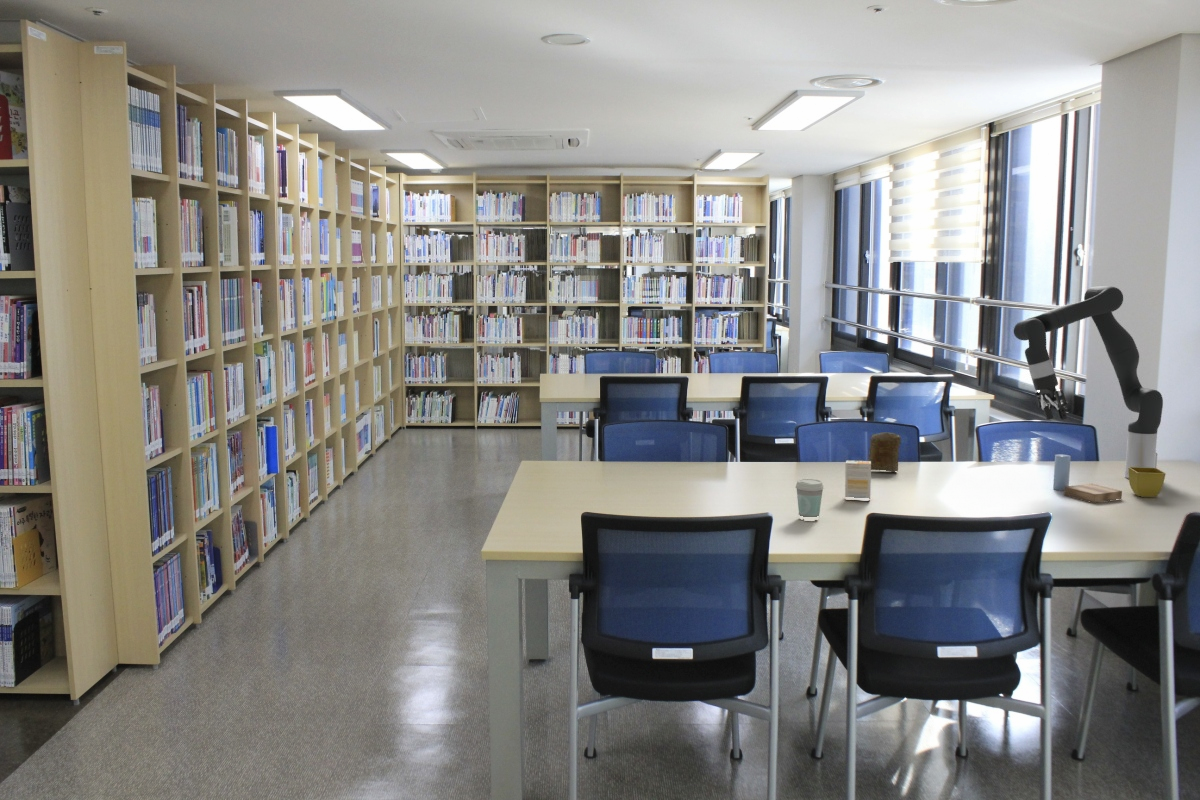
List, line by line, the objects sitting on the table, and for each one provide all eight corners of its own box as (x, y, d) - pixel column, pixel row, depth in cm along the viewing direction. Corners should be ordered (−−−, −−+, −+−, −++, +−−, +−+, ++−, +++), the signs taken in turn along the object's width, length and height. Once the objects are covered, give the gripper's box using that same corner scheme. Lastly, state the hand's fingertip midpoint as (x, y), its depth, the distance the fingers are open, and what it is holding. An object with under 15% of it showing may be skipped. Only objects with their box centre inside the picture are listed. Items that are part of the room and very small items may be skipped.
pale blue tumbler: (1060, 487, 321) (1062, 453, 319) (1071, 490, 316) (1073, 456, 314) (1050, 488, 319) (1051, 455, 317) (1061, 491, 314) (1063, 457, 313)
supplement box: (870, 498, 307) (871, 460, 305) (869, 502, 302) (871, 463, 301) (845, 497, 310) (846, 459, 308) (844, 500, 305) (845, 462, 303)
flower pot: (1164, 499, 302) (1166, 473, 301) (1135, 498, 304) (1137, 472, 302) (1153, 493, 310) (1155, 467, 309) (1126, 492, 312) (1127, 466, 311)
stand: (1090, 492, 313) (1091, 483, 313) (1121, 499, 302) (1121, 491, 301) (1064, 495, 309) (1064, 486, 308) (1094, 503, 298) (1095, 494, 297)
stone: (865, 472, 348) (866, 433, 346) (872, 467, 356) (873, 430, 354) (895, 475, 342) (896, 436, 340) (901, 470, 350) (902, 432, 348)
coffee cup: (791, 516, 286) (792, 478, 284) (817, 515, 287) (818, 478, 285) (799, 523, 277) (800, 485, 276) (826, 522, 278) (827, 484, 277)
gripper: (1064, 370, 308) (1078, 416, 308) (1042, 372, 322) (1055, 416, 322) (1043, 377, 308) (1058, 422, 308) (1022, 378, 322) (1035, 422, 322)
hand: (1056, 419), depth 315 cm, fingers open, 8 cm apart
